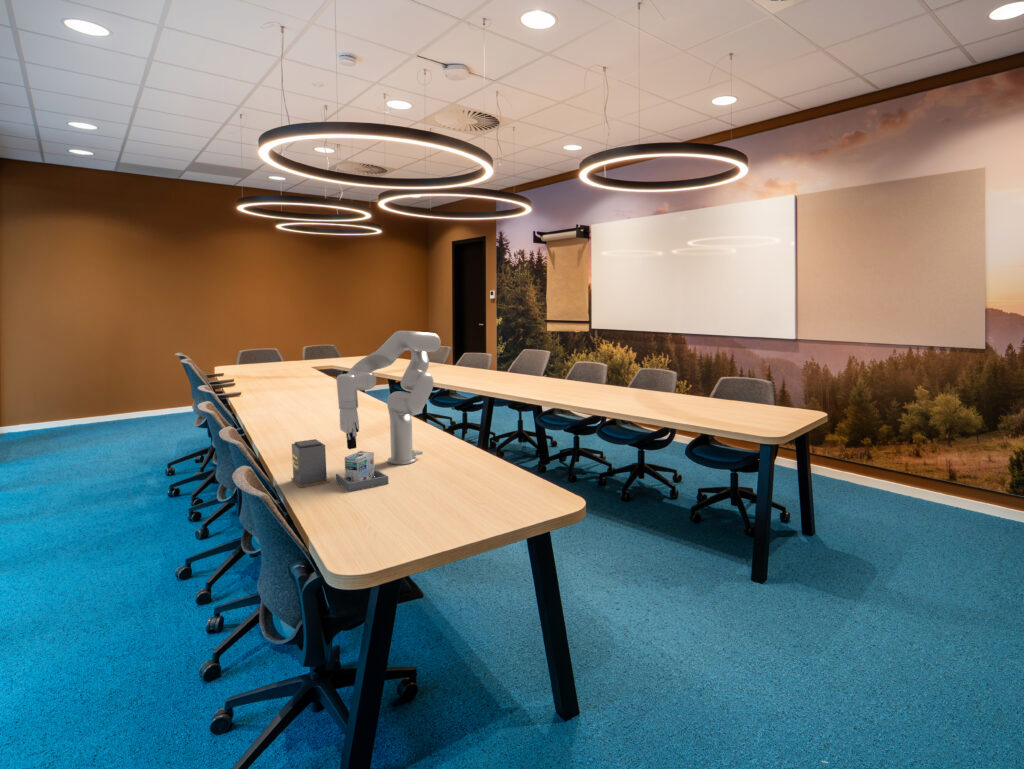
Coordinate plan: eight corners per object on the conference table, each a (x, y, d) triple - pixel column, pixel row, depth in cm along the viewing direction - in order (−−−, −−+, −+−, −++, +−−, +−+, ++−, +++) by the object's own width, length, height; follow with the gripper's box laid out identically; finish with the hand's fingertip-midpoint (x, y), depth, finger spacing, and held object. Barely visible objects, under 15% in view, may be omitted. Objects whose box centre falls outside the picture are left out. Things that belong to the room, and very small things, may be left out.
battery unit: (319, 475, 221) (317, 437, 219) (329, 482, 211) (327, 443, 209) (291, 480, 214) (289, 441, 212) (299, 488, 204) (297, 447, 202)
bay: (373, 474, 222) (373, 467, 221) (388, 483, 210) (388, 476, 209) (335, 481, 213) (335, 474, 212) (349, 491, 201) (348, 483, 200)
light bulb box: (359, 485, 207) (358, 458, 206) (344, 484, 210) (343, 457, 208) (375, 477, 217) (374, 451, 216) (361, 476, 220) (360, 450, 218)
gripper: (333, 403, 221) (336, 446, 224) (345, 408, 209) (349, 454, 212) (350, 400, 226) (354, 442, 229) (364, 405, 214) (367, 450, 217)
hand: (352, 448), depth 221 cm, fingers closed
